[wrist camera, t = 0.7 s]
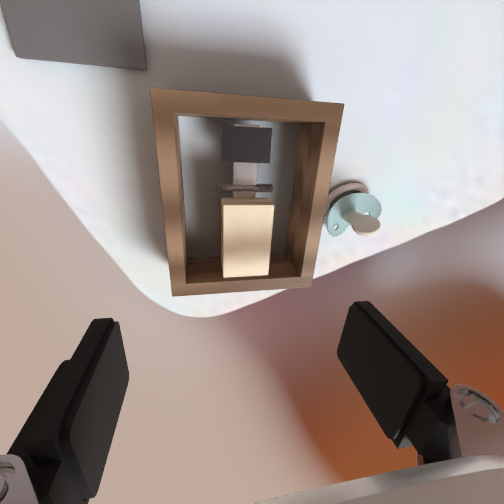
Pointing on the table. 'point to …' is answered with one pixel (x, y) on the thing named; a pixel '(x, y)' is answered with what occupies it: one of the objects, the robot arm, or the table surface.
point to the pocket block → (303, 198)
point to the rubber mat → (77, 31)
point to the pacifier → (353, 211)
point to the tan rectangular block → (246, 236)
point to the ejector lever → (245, 158)
